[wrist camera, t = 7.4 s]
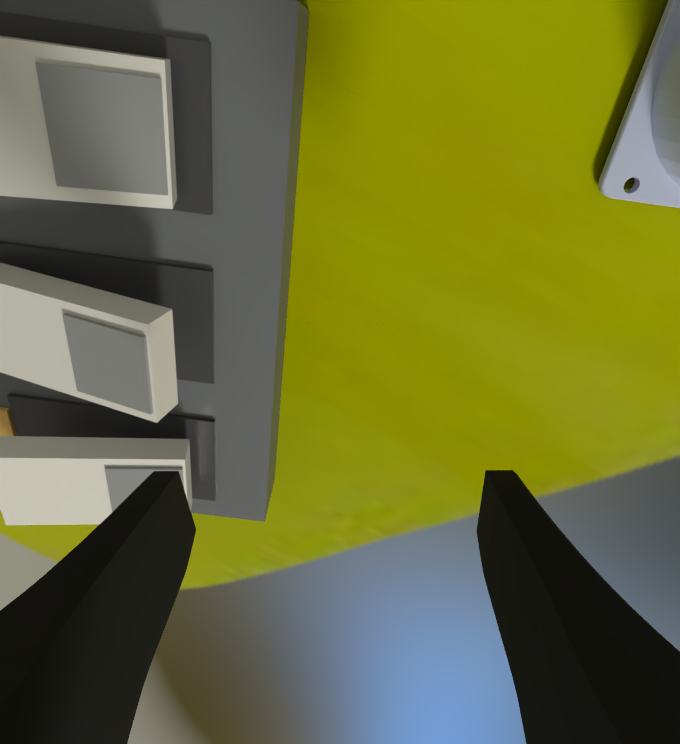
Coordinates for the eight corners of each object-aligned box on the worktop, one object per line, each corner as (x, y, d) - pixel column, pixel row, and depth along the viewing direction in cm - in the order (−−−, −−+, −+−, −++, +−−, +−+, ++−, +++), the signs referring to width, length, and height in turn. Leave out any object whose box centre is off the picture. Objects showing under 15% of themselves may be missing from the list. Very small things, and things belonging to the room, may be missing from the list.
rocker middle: (172, 309, 15) (145, 326, 14) (178, 403, 17) (154, 425, 16) (-12, 259, 16) (-50, 271, 15) (12, 351, 18) (-20, 368, 17)
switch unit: (309, 11, 15) (297, 0, 13) (274, 479, 26) (264, 524, 23) (-120, -55, 15) (-221, -79, 12) (24, 448, 25) (-14, 490, 23)
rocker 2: (189, 439, 20) (184, 461, 19) (192, 501, 22) (188, 525, 21) (-3, 435, 19) (-20, 460, 18) (18, 502, 21) (4, 527, 19)
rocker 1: (170, 59, 13) (163, 60, 12) (177, 198, 15) (172, 210, 14) (-143, 15, 12) (-183, 12, 10) (-91, 176, 13) (-119, 187, 12)
